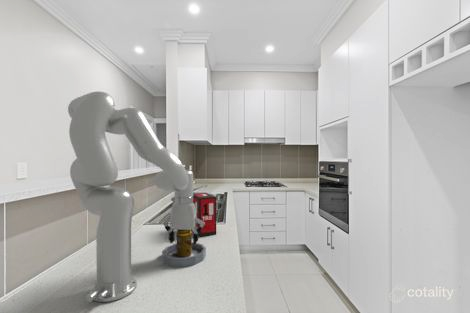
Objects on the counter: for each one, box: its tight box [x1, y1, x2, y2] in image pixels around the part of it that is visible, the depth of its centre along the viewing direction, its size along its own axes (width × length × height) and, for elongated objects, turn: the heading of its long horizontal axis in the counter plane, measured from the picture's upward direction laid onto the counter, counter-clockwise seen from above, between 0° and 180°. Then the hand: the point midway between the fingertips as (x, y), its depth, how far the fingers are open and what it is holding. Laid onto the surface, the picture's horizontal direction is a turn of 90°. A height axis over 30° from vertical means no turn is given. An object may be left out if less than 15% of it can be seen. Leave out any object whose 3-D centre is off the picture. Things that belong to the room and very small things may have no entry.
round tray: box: [161, 241, 207, 268], centre depth 95 cm, size 17×17×3 cm
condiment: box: [169, 230, 195, 258], centre depth 95 cm, size 7×8×12 cm
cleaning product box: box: [193, 192, 217, 238], centre depth 128 cm, size 16×9×20 cm, turn 27°
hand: (183, 242), depth 95 cm, fingers open, 9 cm apart
